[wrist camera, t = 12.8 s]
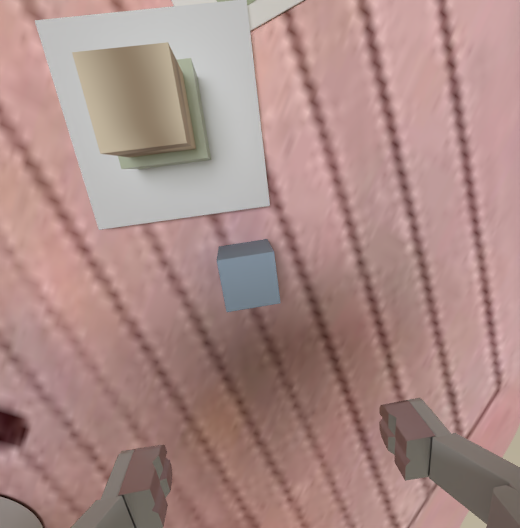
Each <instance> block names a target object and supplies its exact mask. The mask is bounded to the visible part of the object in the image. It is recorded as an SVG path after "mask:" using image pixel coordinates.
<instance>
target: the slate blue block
mask: <svg viewBox="0 0 520 528" xmlns="http://www.w3.org/2000/svg"><path fill="white" fill-rule="evenodd" d="M217 265H218V270H219V275H220V280H221V285H222V290H223V296H224V301H225V306H226V311H227V312H231V311H237V310H243V309H249V308H255V307H261V306H267V305H273V304H279V303H280V295H279V287H278V280H277V272H276V264H275V256H274V251H273V249H272V247H271V245H270V243H269V242H268V240H267V239H264V240H258V241H251V242H245V243H239V244H232V245H226V246H219V249H218V256H217Z"/></svg>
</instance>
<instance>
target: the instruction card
mask: <svg viewBox="0 0 520 528" xmlns="http://www.w3.org/2000/svg"><path fill="white" fill-rule="evenodd" d="M171 1H172V3H173V5H174V6H183V5H193V4H203V3H213V2H223V1H233V0H171ZM303 1H304V0H247V8H248V17H249V26H250V31H252V30H254V29H256V28H257V27H259V26H261V25H263V24H264V23H266V22H268V21H269V20H271V19H273V18H275V17H276V16H278V15H280V14H282V13H283V12H285V11H287V10H289V9H290V8H292V7H294V6H296V5H297V4H299V3H301V2H303Z"/></svg>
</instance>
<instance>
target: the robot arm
mask: <svg viewBox="0 0 520 528" xmlns="http://www.w3.org/2000/svg"><path fill="white" fill-rule="evenodd" d="M380 415H381V416H382V419H381V421H380V422H379V424H380V433H381V437H382V439H383V442H384V444H385V446H386V448H387V449H388V451H390V452H391V453H393V454H394V455H395V464H396V465H397V467H398V469H399V471H400V472H401V474H402V476H403V478H404V479H405V480H411V479H417V478H424V477H429V478H430V479H431V480H432V481H433V482H435V483H436V484H437V485H438V486H440V487H441V488H442V489H443V490H445V491H446V492H447V493H448V494H450V495H451V496H452V497H453V498H455V499H456V500H457V501H458V502H460V503H461V504H462V505H463V506H465V507H466V508H467V509H468V510H470V511H471V512H472V513H474V514H475V515H476V516H477V517H479V518H480V519H481V520H482V521H483V522H485V523H486V524H487V527H486V528H520V467H518V466H516V465H514V464H512V463H510V462H509V461H507V460H505V459H503V458H501V457H499V456H497V455H496V454H494V453H492V452H490V451H488V450H486V449H484V448H482V447H481V446H479V445H477V444H475V443H473V442H471V441H469V440H467V439H466V438H464V437H462V436H460V435H458V434H456V433H452V434H451V433H450V432H449V430H448V429H447V428H446V427H445V426H444V424H443V423H442V422H441V421H440V420H439V419H438V417H437V416H436V415H435V414H434V413H433V412H432V410H431V409H430V408H429V407H428V406H427V404H426V403H425V402H424V401H423V400H422V399H420V398H416V399H410V400H406V401H405V400H404V401H399V402H394V403H389V404H383V405H381V406H380ZM166 454H167V450H166V447H165V445H157V446H151V447H144V448H138V449H132V450H126V451H121V453H120V454H119V455H118V457H117V460H116V462H115V465H114V467H113V470H112V472H111V475H110V477H109V480H108V482H107V485H106V487H105V490H104V492H103V495H102V497H101V500H96V501H95V502H94V503H93V504H92V505H91V507H90V508H89V509H88V510H87V511H86V512H85V513H84V514H83V515H82V516H81V517H80V518H79V519H78V520H77V521H76V523H75V524H74V525H73V526H72V527H71V528H163V527H164V522H165V516H166V511H167V506H168V505H167V502H166V499H165V498H166V496H167V495H168V494H169V492H170V490H171V484H172V467H171V463H170V460H168V459H167V458H166ZM0 528H43V527H42V525H41V523H40V521H39V520H38V518H37V517H36V516H35V515H34V514H33V513H32V512H31V511H30V510H28V509H27V508H25V507H24V506H22V505H20V504H19V503H17V502H14V501H12V500H9V499H6V498H3V497H0Z"/></svg>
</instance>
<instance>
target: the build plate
mask: <svg viewBox="0 0 520 528" xmlns="http://www.w3.org/2000/svg"><path fill="white" fill-rule="evenodd" d="M35 23H36V26H37V30H38V33H39V36H40V40H41V43H42V46H43V49H44V53H45V56H46V59H47V62H48V66H49V69H50V72H51V75H52V79H53V82H54V85H55V88H56V92H57V95H58V98H59V101H60V105H61V108H62V111H63V114H64V118H65V121H66V124H67V127H68V131H69V134H70V137H71V141H72V144H73V147H74V150H75V154H76V157H77V160H78V163H79V167H80V170H81V173H82V176H83V180H84V183H85V186H86V189H87V193H88V196H89V199H90V202H91V206H92V209H93V212H94V215H95V219H96V222H97V225H98V228H99V230H101V229H108V228H115V227H122V226H129V225H137V224H144V223H151V222H158V221H165V220H172V219H179V218H187V217H194V216H201V215H208V214H215V213H222V212H229V211H237V210H244V209H251V208H258V207H265V206H270V202H269V193H268V185H267V176H266V167H265V158H264V149H263V141H262V132H261V123H260V114H259V105H258V97H257V88H256V79H255V70H254V61H253V52H252V44H251V35H250V26H249V17H248V8H247V0H233V1H223V2H213V3H203V4H193V5H183V6H173V7H163V8H154V9H144V10H134V11H124V12H114V13H104V14H94V15H84V16H74V17H65V18H55V19H45V20H35ZM166 42H168V43H169V45H170V48H171V50H172V52H173V54H174V56H175V58H176V60H177V62H178V64H179V66H180V68H181V70H182V72H183V77H184V83H185V88H186V94H187V99H188V105H189V111H190V116H191V122H192V127H193V133H194V138H195V144H196V149H193V150H185V151H177V152H169V153H161V154H153V155H145V156H137V157H121V156H114V155H106V154H100V151H99V147H98V144H97V140H96V137H95V133H94V129H93V126H92V122H91V119H90V115H89V111H88V108H87V104H86V101H85V97H84V94H83V90H82V86H81V83H80V79H79V76H78V72H77V68H76V65H75V61H74V58H73V54H72V52H80V51H90V50H99V49H109V48H119V47H128V46H138V45H147V44H157V43H166Z"/></svg>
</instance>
